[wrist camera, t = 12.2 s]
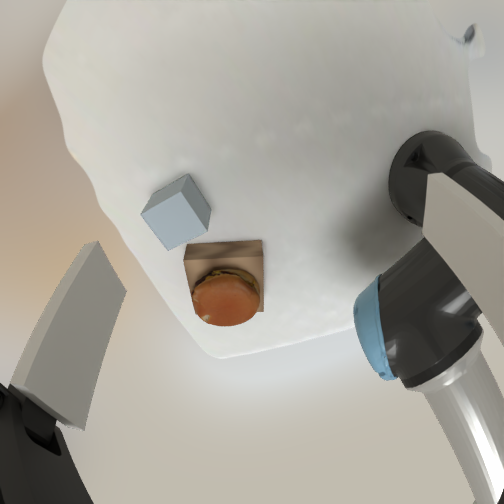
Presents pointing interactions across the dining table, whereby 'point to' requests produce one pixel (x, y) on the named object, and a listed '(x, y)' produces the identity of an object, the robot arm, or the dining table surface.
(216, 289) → the burger
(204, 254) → the walnut block
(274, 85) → the dining table surface
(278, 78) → the dining table surface
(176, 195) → the slate cube
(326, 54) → the dining table surface
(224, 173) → the dining table surface
